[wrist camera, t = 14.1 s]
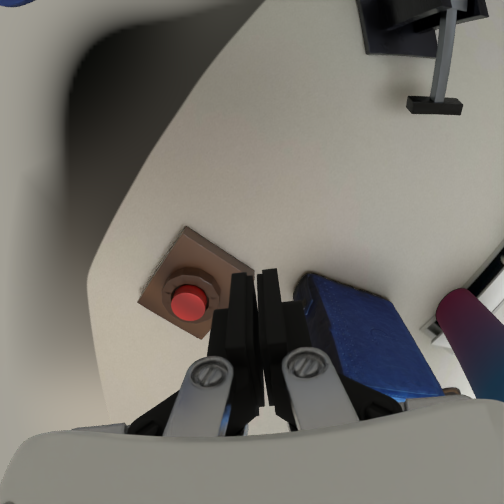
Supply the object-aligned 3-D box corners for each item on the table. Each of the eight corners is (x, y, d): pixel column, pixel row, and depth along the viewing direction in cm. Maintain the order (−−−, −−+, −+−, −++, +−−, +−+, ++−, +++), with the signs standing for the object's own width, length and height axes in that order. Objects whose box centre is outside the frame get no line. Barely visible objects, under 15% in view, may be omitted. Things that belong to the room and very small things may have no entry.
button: (196, 317, 39) (193, 326, 38) (168, 301, 38) (164, 309, 37) (213, 296, 38) (211, 304, 36) (184, 278, 37) (181, 286, 35)
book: (287, 296, 42) (305, 427, 24) (304, 262, 40) (338, 390, 22) (375, 323, 44) (422, 436, 26) (394, 295, 42) (455, 405, 24)
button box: (203, 329, 45) (199, 348, 41) (141, 293, 42) (133, 310, 38) (254, 270, 40) (254, 288, 37) (186, 225, 38) (179, 239, 34)
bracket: (434, 58, 28) (510, 52, 16) (366, 54, 29) (426, 35, 16) (420, -15, 24) (485, -47, 11) (350, -23, 24) (397, -73, 12)
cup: (427, 294, 42) (499, 405, 23) (478, 272, 41) (560, 364, 21) (429, 339, 46) (483, 442, 27) (476, 317, 45) (538, 408, 25)
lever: (451, 106, 26) (463, 118, 25) (403, 104, 26) (414, 117, 25) (469, -18, 15) (485, -11, 13) (413, -31, 15) (428, -28, 14)
